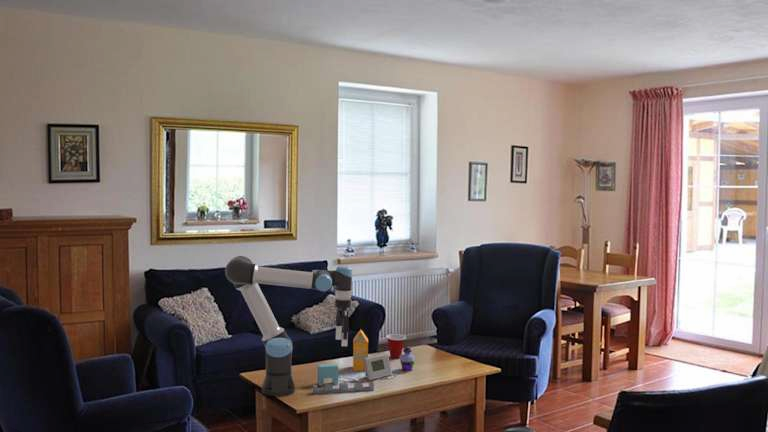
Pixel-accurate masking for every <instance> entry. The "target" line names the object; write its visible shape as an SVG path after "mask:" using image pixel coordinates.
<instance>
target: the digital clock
mask: <svg viewBox="0 0 768 432" xmlns="http://www.w3.org/2000/svg"><path fill="white" fill-rule="evenodd" d="M364 365H365V370H366V371H365V377H366V376H367V380H368V381H375V380H374V379H376V380H379V379H378V378H380V379H382V378H381V377H384V378H386V377H385V376H387V377H388V376H389V377H390V376H392V375H393V371H392V366H391V363H390V357H389V355H388V353H386V352H385V353H381V354H379V353H378V354H375V355H372V356H368V358H365V359H364Z"/></svg>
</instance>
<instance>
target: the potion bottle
mask: <svg viewBox="0 0 768 432" xmlns="http://www.w3.org/2000/svg"><path fill="white" fill-rule="evenodd" d="M402 353H404V354H401V355H400V356H399V357H400V358H399V363H400V366H401V371H403V372H411V371H413V366H414V365H415V360H416V355H413V354H411V353H412V348H411V346H409V345H408V346H403V350H402Z"/></svg>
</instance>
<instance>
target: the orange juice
mask: <svg viewBox="0 0 768 432" xmlns="http://www.w3.org/2000/svg"><path fill="white" fill-rule="evenodd" d="M352 343H353V344H352V346H353V349H352V350H353V354H352V359H353V361H352V371H353V370H365V365H364V359H365V358H368V357H369V338H368V337H367V335H366V334H365V332H364V331H363V330H362V328H360V330H359V331H358V332H357V333H356V334H355V336H354V338H353V341H352Z"/></svg>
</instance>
